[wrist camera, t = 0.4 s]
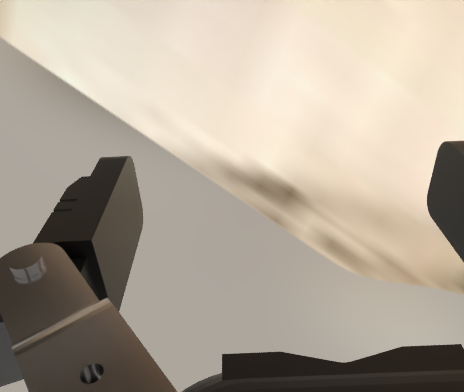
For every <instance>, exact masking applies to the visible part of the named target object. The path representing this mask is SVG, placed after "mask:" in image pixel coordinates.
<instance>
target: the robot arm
mask: <svg viewBox="0 0 464 392" xmlns="http://www.w3.org/2000/svg"><path fill="white" fill-rule="evenodd" d="M427 206H428V211H429V214H430V216H431V217H432V219H433V220H434V222H435V223H436V224H437V226H438V227H439V229H440V230H441V231H442V233H443V234H444V235H445V237H446V238H447V240H448V241H449V242H450V244H451V245H452V247H453V248H454V249H455V251H456V252H457V253H458V255H459V256H460V258H461V259H462V260H463V262H464V141H447V142H444V143H442V144H441V146H440V147H439V150H438V153H437V157H436V161H435V165H434V169H433V173H432V178H431V182H430V186H429V190H428V195H427ZM142 226H143V210H142V203H141V199H140V193H139V188H138V183H137V178H136V172H135V168H134V163H133V160H132V158H131V157H130V156H120V157H102V158H100V159H99V161H98V163H97V165H96V167H95V169H94V170H93V172H92V174H91V176H88V177H81V178H79V179H78V180H77V181H76V182H74V183H73V184H72V185H70V186H69V187H68V188H67V189H66V191H65V192H64V194H63V195H62V197H61V199H60V202H58V204H57V205H56V207H55V208H54V212H52V213H51V215H50V217H49V218H48V220H47V221H46V223H45V225H44V226H43V228H42V230H41V231H40V233H39V234H38V236H37V238H36V239H35V241H34V242H33V244H30V245H26V246H23V247H20V248H17V249H15V250H13V251H11V252H9V253H7V254H6V255H4V256H3V257H1V258H0V387H1V386H4V385H7V384H10V383H13V382H16V381H19V380H22V379H24V381H25V383H26V386H27V388H28V391H29V392H177V391H176V389H175V388H174V387H173V385H172V384H171V383H170V381H169V380H168V378H167V377H166V376H165V375H164V373H163V372H162V370H161V369H160V368H159V366H158V365H157V364H156V362H155V361H154V359H153V358H152V357H151V356H150V354H149V353H148V352H147V350H146V349H145V347H144V346H143V344H142V343H141V342H140V340H139V339H138V338H137V336H136V335H135V333H134V332H133V331H132V329H131V328H130V327H129V325H128V324H127V323H126V321H125V320H124V319H123V317H122V316H121V314H120V313H119V310H120V306H121V303H122V299H123V296H124V292H125V288H126V285H127V281H128V277H129V274H130V270H131V266H132V263H133V260H134V256H135V252H136V249H137V245H138V241H139V238H140V234H141V231H142ZM182 392H464V349H463V347H462V345H461V344H455V345H433V346H432V345H431V346H409V347H400V348H396V349H393V350H389V351H386V352H383V353H379V354H376V355H372V356H369V357H366V358H362V359H359V360H355V361H352V362H347V363H341V362H334V361H328V360H323V359H318V358H312V357H307V356H301V355H295V354H290V353H284V352H265V353H240V354H222V373H220V374H217V375H214V376H211V377H208V378H206V379H204V380H201V381H199V382H197V383H195V384H193V385H192V386H190V387H188V388H186V389H185V390H184V391H182Z"/></svg>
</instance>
